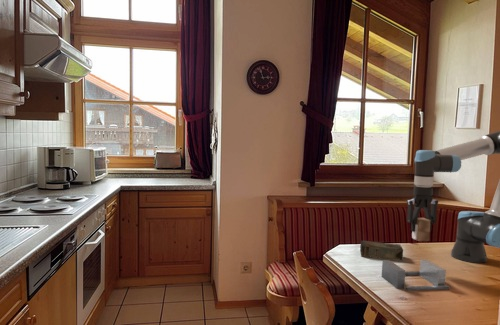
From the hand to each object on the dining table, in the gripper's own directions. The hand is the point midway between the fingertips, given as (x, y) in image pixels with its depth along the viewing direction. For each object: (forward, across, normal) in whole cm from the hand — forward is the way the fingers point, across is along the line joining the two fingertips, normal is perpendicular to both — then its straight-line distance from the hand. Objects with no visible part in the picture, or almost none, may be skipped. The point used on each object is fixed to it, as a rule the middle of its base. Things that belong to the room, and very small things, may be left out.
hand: (420, 238), depth 164 cm
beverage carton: (+14, +8, -18) cm, 25 cm away
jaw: (+14, +3, +13) cm, 19 cm away
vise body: (+14, +11, +13) cm, 22 cm away
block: (0, 0, 0) cm, 0 cm away
